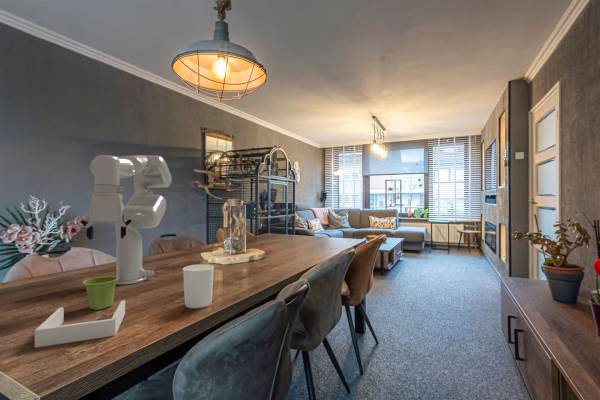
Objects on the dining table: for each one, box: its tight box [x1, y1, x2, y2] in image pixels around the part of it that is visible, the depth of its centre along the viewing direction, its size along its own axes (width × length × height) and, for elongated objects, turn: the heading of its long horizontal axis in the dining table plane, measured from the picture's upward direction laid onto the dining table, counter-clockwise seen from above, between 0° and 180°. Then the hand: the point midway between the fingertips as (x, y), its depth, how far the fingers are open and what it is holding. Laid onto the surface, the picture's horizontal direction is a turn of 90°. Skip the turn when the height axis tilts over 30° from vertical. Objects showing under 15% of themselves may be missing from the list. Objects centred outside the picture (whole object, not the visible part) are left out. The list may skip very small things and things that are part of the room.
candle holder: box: [182, 263, 215, 309], centre depth 97 cm, size 10×10×12 cm
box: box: [34, 299, 126, 348], centre depth 78 cm, size 16×16×4 cm
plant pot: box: [82, 275, 118, 311], centre depth 94 cm, size 9×9×9 cm
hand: (107, 238), depth 105 cm, fingers open, 9 cm apart
